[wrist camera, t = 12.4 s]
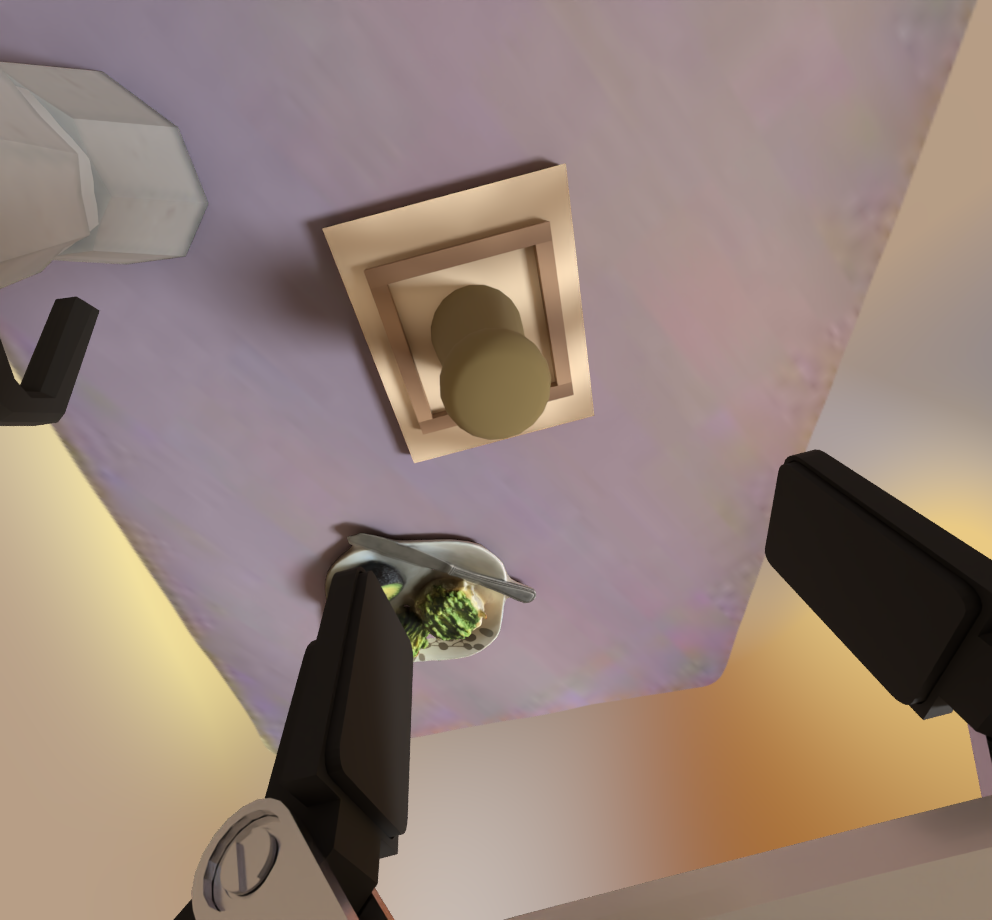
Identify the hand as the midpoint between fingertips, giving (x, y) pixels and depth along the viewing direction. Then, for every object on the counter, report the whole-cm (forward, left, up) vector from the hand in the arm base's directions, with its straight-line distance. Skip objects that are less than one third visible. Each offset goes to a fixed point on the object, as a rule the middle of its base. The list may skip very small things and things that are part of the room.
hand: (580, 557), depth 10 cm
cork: (0, -1, -21) cm, 21 cm away
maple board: (+1, -1, -22) cm, 22 cm away
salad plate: (+23, -13, -23) cm, 35 cm away
